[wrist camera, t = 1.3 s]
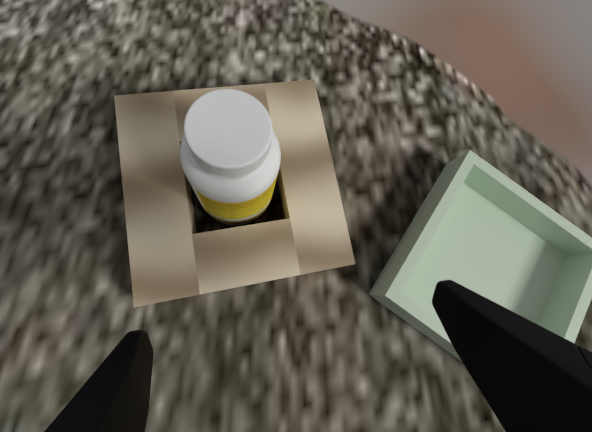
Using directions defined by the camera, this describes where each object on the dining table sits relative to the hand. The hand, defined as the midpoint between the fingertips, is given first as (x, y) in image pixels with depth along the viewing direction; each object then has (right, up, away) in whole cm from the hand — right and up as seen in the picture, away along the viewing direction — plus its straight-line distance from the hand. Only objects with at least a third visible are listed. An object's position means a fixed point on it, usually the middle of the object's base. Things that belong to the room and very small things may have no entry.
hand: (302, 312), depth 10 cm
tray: (+14, -2, +15) cm, 21 cm away
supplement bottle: (-5, +5, +14) cm, 16 cm away
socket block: (-5, +5, +14) cm, 16 cm away
